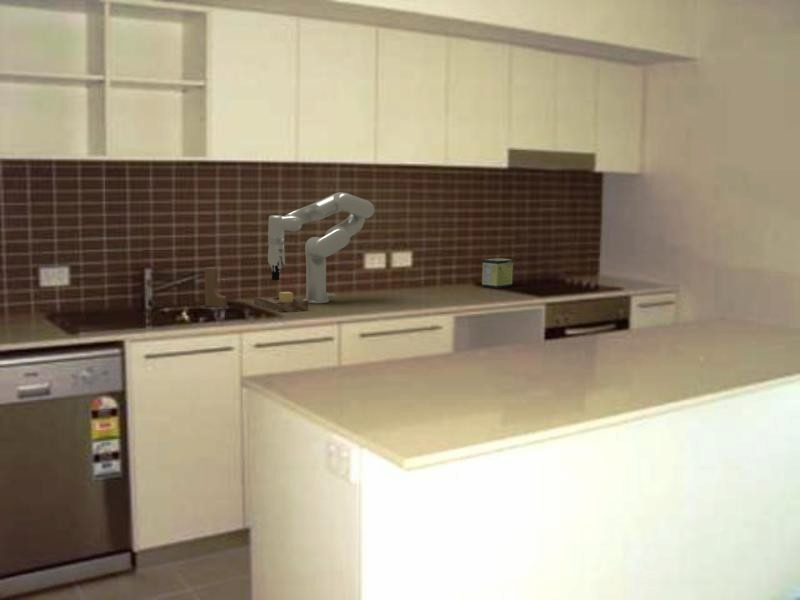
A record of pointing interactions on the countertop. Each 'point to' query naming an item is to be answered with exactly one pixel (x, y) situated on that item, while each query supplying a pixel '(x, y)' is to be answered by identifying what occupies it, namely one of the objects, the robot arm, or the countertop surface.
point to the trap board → (281, 304)
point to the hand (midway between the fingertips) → (275, 279)
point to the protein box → (497, 273)
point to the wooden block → (213, 289)
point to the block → (286, 296)
